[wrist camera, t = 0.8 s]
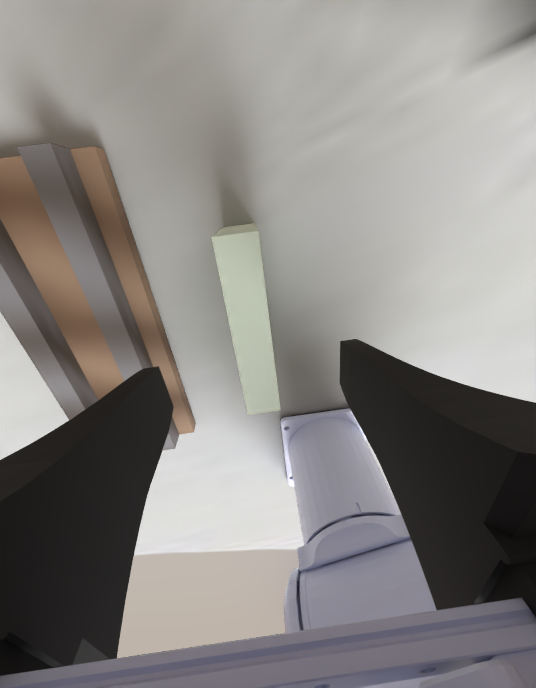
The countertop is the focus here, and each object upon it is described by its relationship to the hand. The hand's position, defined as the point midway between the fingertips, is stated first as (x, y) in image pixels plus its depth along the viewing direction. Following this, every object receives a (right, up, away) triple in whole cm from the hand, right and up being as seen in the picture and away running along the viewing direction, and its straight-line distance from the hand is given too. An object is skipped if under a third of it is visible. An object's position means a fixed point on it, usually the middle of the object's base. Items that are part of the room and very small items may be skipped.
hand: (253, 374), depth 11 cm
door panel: (-1, +4, +8) cm, 9 cm away
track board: (-11, +2, +8) cm, 14 cm away
